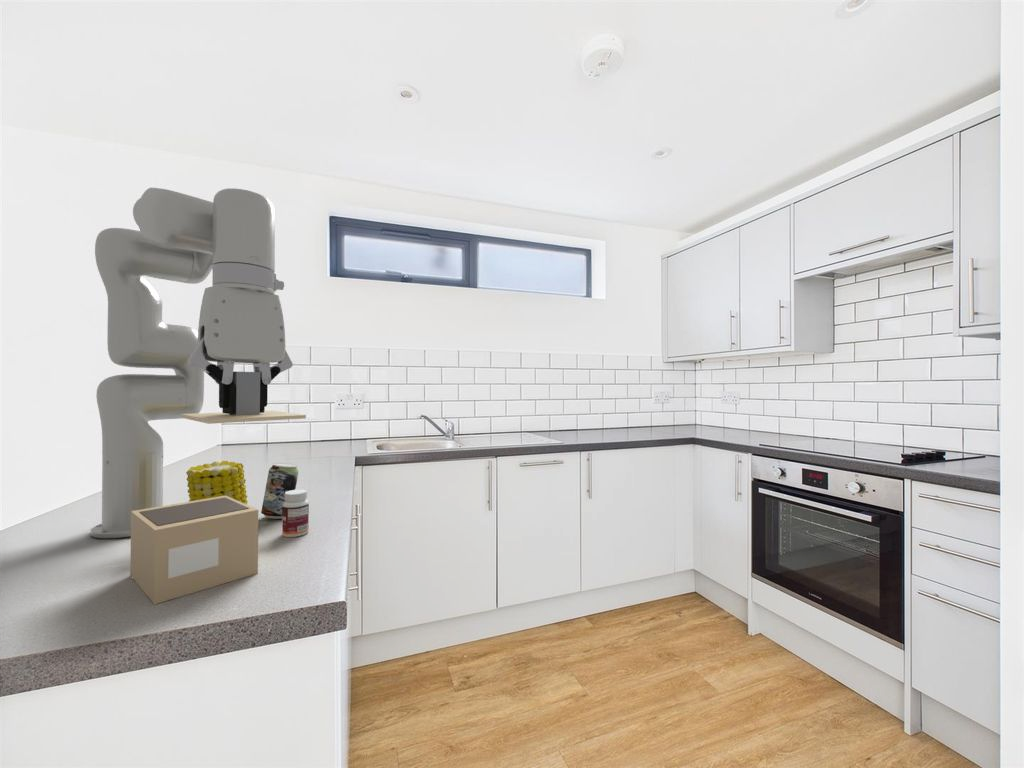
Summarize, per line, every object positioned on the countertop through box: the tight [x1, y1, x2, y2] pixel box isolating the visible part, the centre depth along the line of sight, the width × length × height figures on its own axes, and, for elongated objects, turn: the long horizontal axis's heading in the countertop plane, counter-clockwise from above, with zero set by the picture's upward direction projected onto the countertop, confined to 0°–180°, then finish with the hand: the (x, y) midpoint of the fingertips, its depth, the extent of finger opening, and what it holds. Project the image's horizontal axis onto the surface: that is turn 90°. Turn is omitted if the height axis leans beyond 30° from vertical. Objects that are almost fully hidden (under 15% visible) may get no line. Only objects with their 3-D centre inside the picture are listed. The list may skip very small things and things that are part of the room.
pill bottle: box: [281, 489, 310, 538], centre depth 89 cm, size 5×5×8 cm
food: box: [186, 460, 249, 505], centre depth 88 cm, size 15×12×10 cm
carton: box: [129, 496, 259, 605], centre depth 70 cm, size 14×13×10 cm
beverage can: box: [260, 462, 299, 519], centre depth 100 cm, size 6×7×12 cm
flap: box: [181, 371, 307, 425], centre depth 63 cm, size 11×12×6 cm
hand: (243, 411), depth 63 cm, fingers closed on flap, 3 cm apart
